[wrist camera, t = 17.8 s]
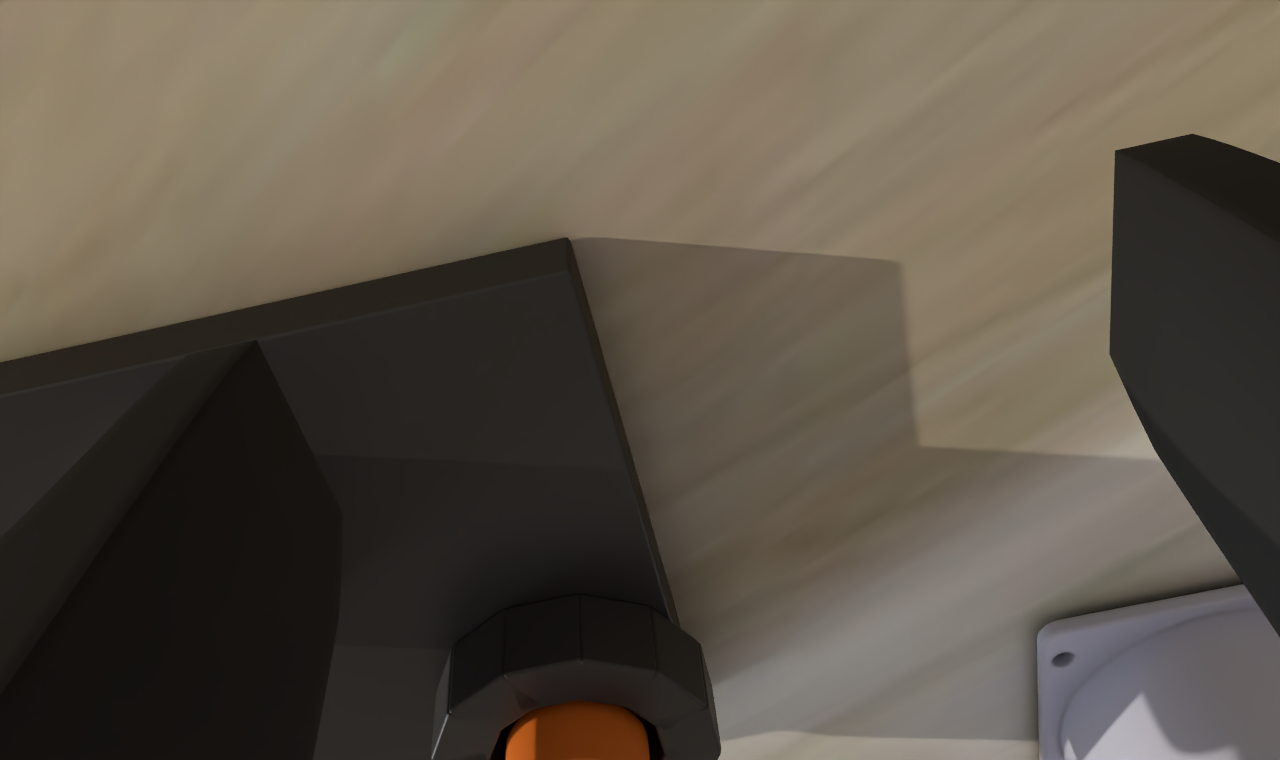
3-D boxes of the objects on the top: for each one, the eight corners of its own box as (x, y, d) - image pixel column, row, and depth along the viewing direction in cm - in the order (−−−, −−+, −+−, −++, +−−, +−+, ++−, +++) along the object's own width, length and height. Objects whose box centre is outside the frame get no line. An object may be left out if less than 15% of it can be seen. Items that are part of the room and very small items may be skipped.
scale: (721, 702, 29) (738, 811, 27) (231, 797, 30) (205, 911, 28) (593, 229, 21) (601, 324, 19) (-68, 376, 22) (-140, 484, 20)
